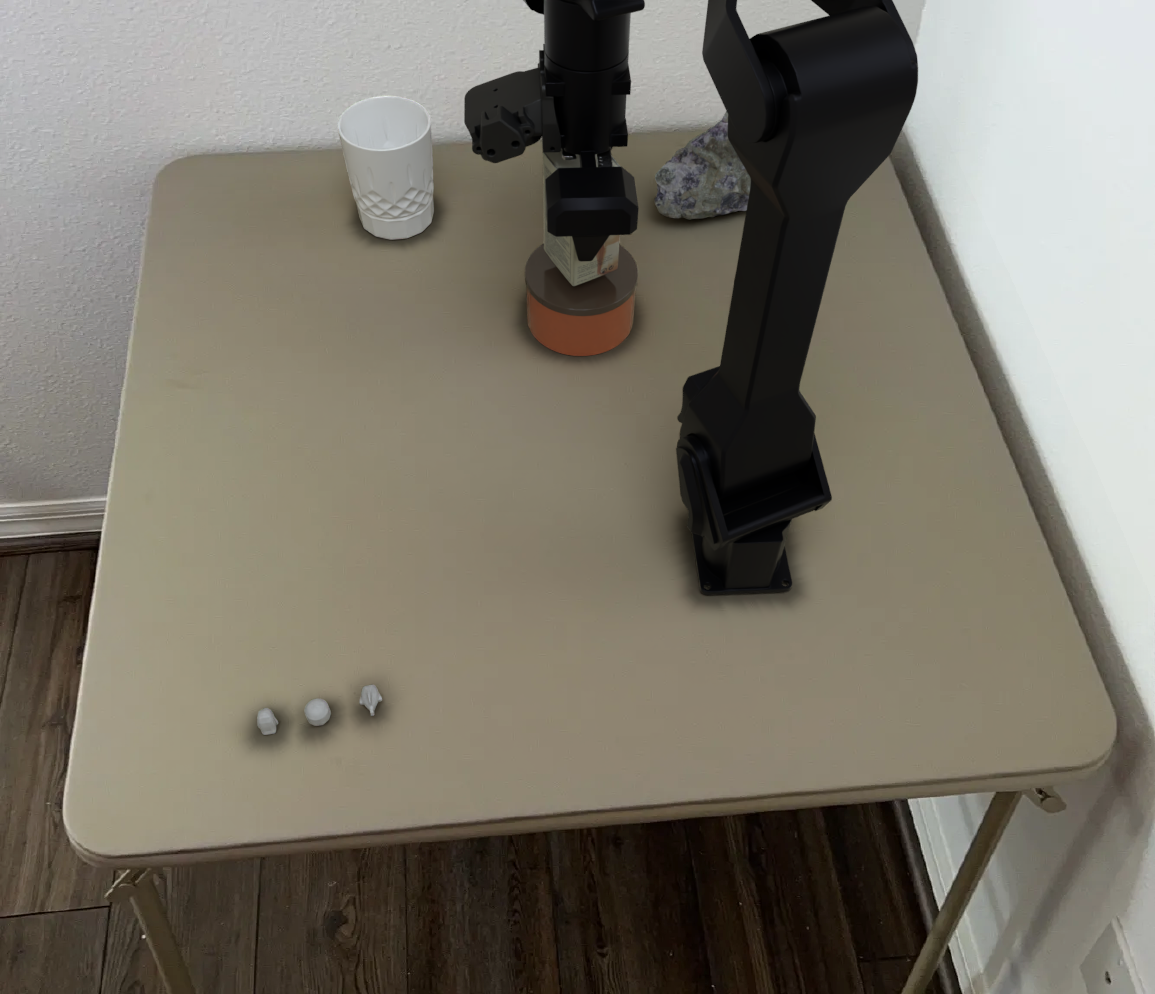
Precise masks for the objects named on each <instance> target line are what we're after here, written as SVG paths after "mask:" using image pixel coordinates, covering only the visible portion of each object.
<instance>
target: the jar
mask: <svg viewBox="0 0 1155 994" xmlns="http://www.w3.org/2000/svg"><path fill="white" fill-rule="evenodd" d="M638 271H639V270H638V265H637V262H636V260H635V258H634V257H633V255H632V254H631V253H630V251H629V250H627V248H626V247H624V246H622V244H619V256H618V268H617V269H616V270H614V271H612V272H609V273H607V274H605V275H602V276H600V277H597V278H595V279H592V280H590V281H587V282H584V283H582V284H579V285H576V286H572V285H571V283H570V282H569V281H568V280H567V279H566V278H565V276H564V275H563V274H562V273H561V271H560V270H559V269H558V267H557V266H556V265H555V264H554V262H553V261H552V260H551V258H550V257H549V256H548V254H547V253H546V251H545V250H544V242H543V243H541V244H540V245H539V246H537V247H536V248H535V249H534V250H533V251H532V252H531V253H530V255H529V256H528V258H527V260H526V263H525V265H524V281H525V286H526V287H525V288H526V321H527V325H528V328H529V331H530V332H531V335H532V336H533V337H534V338H535V340H536V341H538V342H539V343H540V344H541V345H543V346H544V347H545V348H547V349H548V350H551V351H553V352H555V353H558V354H561V355H566V356H572V357H573V356H574V357H589V356H590V357H591V356H595V355H600V354H604V353H607V352H609V351H611V350H613V349H615V348H616V347H618V346H620V345H621V344H622V343H623V342H624V341H625V340H626V338H627V337H628V336H629V334H630V333H631V331H632V328H633V326H634V325H633V324H634V318H635V317H634V315H635V303H636V290H637V289H636V288H637V286H638V279H639V278H638V277H639V272H638Z"/></svg>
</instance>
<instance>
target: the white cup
mask: <svg viewBox="0 0 1155 994" xmlns="http://www.w3.org/2000/svg"><path fill="white" fill-rule="evenodd" d="M336 124H337V125H336V127H337V133H338V138H339V141H340V146H341V150H342V154H343V159H344V163H345V164H344V165H345V168H346V173H347V175H348V180H349V183H350V184H349V185H350V187H351V191H352V196H353V200H354V201H355V203H356V209H357V213H358V217H359V219H360V222H361V225H362V227H363V229H364V230H365V231H367V232H368V233H370V234H371V235H373V236H374V237H377V238H381V239H386V240H390V241H392V240H393V241H394V240H404V239H409V238H412V237H414V236H417V235H419V234H421V233H423V232H424V231H425V230H426V229H427V228H428V227H429V226H430V225H431V224H432V221H433V218H434V213H435V204H434V184H435V183H434V182H435V181H434V155H433V137H432V134H433V133H432V117H431V115H430V113H429V111H428V109H427V108H426V107H425V106H424V105H422V104H421V103H419V102H417V101H416V100H413V99H411V98H408V97H404V96H401V95H400V96H399V95H388V94H387V95H386V94H385V95H376V96H370V97H366V98H363V99H361V100H358V101H356V102H354V103H352V104H350V105H349V106H348V107H346V108H345V109H344V110H343V111H342V113H340V115H339V117H338V119H337V123H336Z"/></svg>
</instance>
